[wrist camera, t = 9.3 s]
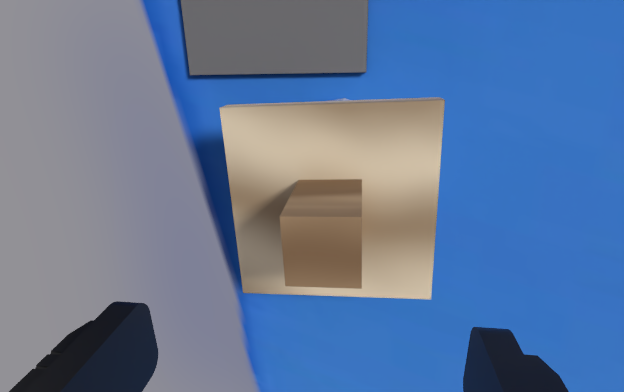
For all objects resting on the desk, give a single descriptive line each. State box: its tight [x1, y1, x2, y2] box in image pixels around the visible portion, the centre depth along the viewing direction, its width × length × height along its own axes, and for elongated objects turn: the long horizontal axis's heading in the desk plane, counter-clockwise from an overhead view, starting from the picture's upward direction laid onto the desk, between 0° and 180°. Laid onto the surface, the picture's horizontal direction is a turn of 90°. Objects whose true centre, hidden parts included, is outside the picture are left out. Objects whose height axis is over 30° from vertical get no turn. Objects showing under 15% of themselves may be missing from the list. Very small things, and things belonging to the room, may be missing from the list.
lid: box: [220, 97, 445, 299], centre depth 17 cm, size 10×10×6 cm
